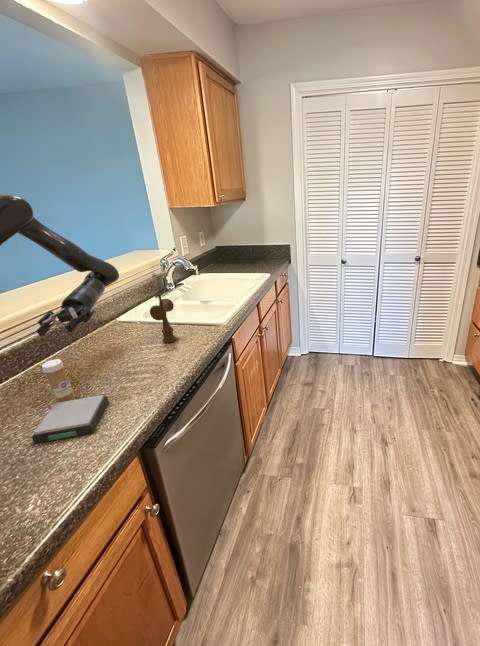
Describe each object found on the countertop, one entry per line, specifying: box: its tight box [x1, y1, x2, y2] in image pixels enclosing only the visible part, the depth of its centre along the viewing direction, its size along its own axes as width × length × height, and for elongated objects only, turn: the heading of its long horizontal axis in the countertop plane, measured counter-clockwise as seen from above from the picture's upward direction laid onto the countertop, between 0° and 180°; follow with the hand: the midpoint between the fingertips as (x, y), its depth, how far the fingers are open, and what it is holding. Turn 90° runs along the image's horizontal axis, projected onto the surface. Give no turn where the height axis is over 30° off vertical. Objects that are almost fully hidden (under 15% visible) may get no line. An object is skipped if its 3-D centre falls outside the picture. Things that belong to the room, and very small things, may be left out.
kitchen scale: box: [31, 394, 110, 445], centre depth 85 cm, size 13×13×3 cm
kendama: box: [149, 292, 177, 343], centre depth 125 cm, size 6×10×20 cm, turn 1°
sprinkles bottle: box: [41, 358, 77, 403], centre depth 90 cm, size 5×5×14 cm
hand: (53, 331), depth 92 cm, fingers open, 8 cm apart
